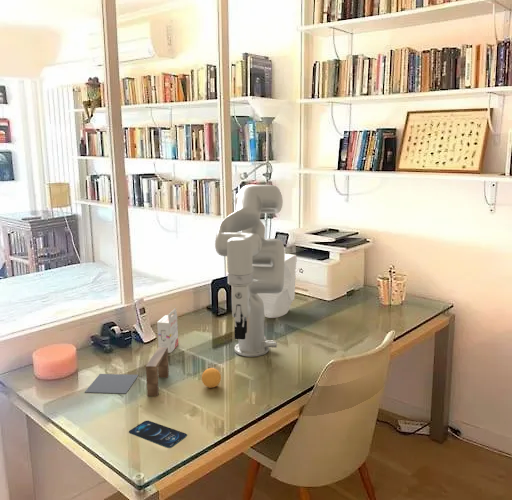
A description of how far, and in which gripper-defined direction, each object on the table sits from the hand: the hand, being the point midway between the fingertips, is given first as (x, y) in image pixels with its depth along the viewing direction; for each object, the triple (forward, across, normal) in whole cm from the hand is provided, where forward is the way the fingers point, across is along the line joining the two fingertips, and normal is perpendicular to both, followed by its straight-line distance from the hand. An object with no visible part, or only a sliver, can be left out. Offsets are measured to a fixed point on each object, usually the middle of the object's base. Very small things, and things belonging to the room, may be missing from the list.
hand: (240, 335), depth 166 cm
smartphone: (+18, -28, +20) cm, 39 cm away
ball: (+14, 0, +10) cm, 17 cm away
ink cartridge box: (+18, +30, +30) cm, 46 cm away
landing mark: (+17, 0, +42) cm, 45 cm away
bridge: (+17, 0, +26) cm, 32 cm away
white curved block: (+18, +78, -4) cm, 80 cm away
